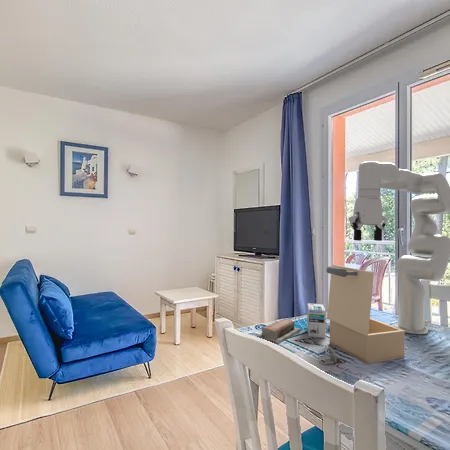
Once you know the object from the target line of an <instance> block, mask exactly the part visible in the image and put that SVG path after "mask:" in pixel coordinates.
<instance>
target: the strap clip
mask: <svg viewBox="0 0 450 450" xmlns="http://www.w3.org/2000/svg"><path fill="white" fill-rule="evenodd" d="M328 353H329V358H321V359H320V360H318V362H319V364H321V365H322V366H331V365H334V364H346V363H347V361H346V360H344V359H343V358H337V357H338V356H337V352H336V350H335V349H333V348H330V349H329V352H328Z"/></svg>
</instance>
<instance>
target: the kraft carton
mask: <svg viewBox="0 0 450 450" xmlns="http://www.w3.org/2000/svg"><path fill="white" fill-rule="evenodd" d="M405 333H406V332H405V331H404V330H401V329H399V328H396V327H394V325H390V324H388V323H385V322H382V321H381V320H376V319H375V318H372V317H370V322H369V333H368V336H365V335H363V334H361V333H358V332H356V331H354V330H352V329H350V328H347V327H345V326H343V325H341V324H338V323H336V322H334V321H332V320H329V344H330V345H332V346H333V347H335V348H337V349H339V350H340V351H343V352H344V353H346V354H347V355H350V356H351V357H353V358H355V359H357V360H358V361H361V363H364V364H366V365H368V364H374V363H381V362H386V361H393V360H399V359H404V358H405V344H406V343H405V342H406V341H405V340H406V337H405V335H406V334H405Z"/></svg>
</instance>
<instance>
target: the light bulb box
mask: <svg viewBox="0 0 450 450" xmlns="http://www.w3.org/2000/svg"><path fill="white" fill-rule="evenodd" d="M306 322H307V325H306V326H307V327H306V328H307V335H308V337H310V338H311V337H312V338H323V339H326V338H327V335H326V333H327V332H326V331H327V310H326V308H325V306H324V304H321V303H320V304H319V303H310V302H309V303H308V302H307V321H306Z"/></svg>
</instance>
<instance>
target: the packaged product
mask: <svg viewBox="0 0 450 450" xmlns="http://www.w3.org/2000/svg"><path fill="white" fill-rule="evenodd" d="M295 326H296V325H295V321H293V320H292V319H280V320H279V321H275V322H273V323H271V324H268V325H265V326H264V327H261V333H258V334H256V338H258V337H260V338H259V339H261V338H263V339H262V340H265V339H266V341H268V340H269V341H268V342H272V341H273V342H272V343H276V344H281V343H283V342H285V341H287V340H288V339H290V338H293V337H294V336H296V335H298V334H299V333H300V332H301V328H299V327H295ZM295 334H296V335H295ZM270 340H271V341H270Z"/></svg>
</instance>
